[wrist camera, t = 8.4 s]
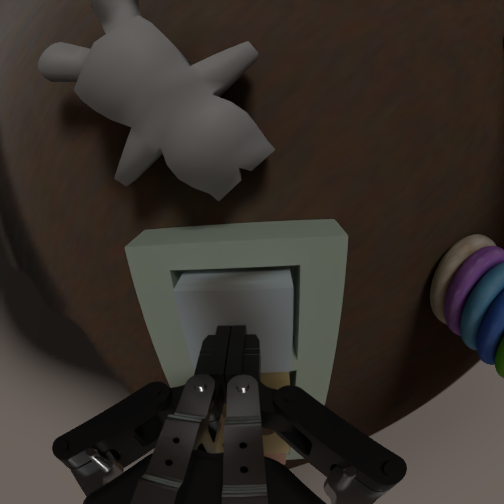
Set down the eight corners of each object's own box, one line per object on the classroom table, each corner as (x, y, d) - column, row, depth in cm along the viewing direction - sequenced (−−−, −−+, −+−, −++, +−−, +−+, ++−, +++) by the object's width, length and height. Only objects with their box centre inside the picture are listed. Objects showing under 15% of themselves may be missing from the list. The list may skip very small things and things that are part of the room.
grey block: (286, 254, 17) (293, 289, 13) (287, 331, 19) (291, 373, 15) (190, 258, 17) (171, 292, 13) (204, 332, 19) (194, 373, 16)
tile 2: (288, 370, 18) (292, 417, 14) (287, 414, 20) (289, 454, 16) (204, 371, 18) (194, 417, 14) (217, 414, 21) (211, 453, 17)
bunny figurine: (176, 250, 13) (4, 82, 8) (192, 214, 18) (51, 82, 12) (327, 114, 10) (114, -51, 5) (302, 114, 15) (141, -20, 9)
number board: (334, 219, 16) (348, 235, 13) (308, 437, 26) (311, 457, 23) (144, 229, 17) (124, 247, 14) (208, 438, 27) (205, 458, 24)
